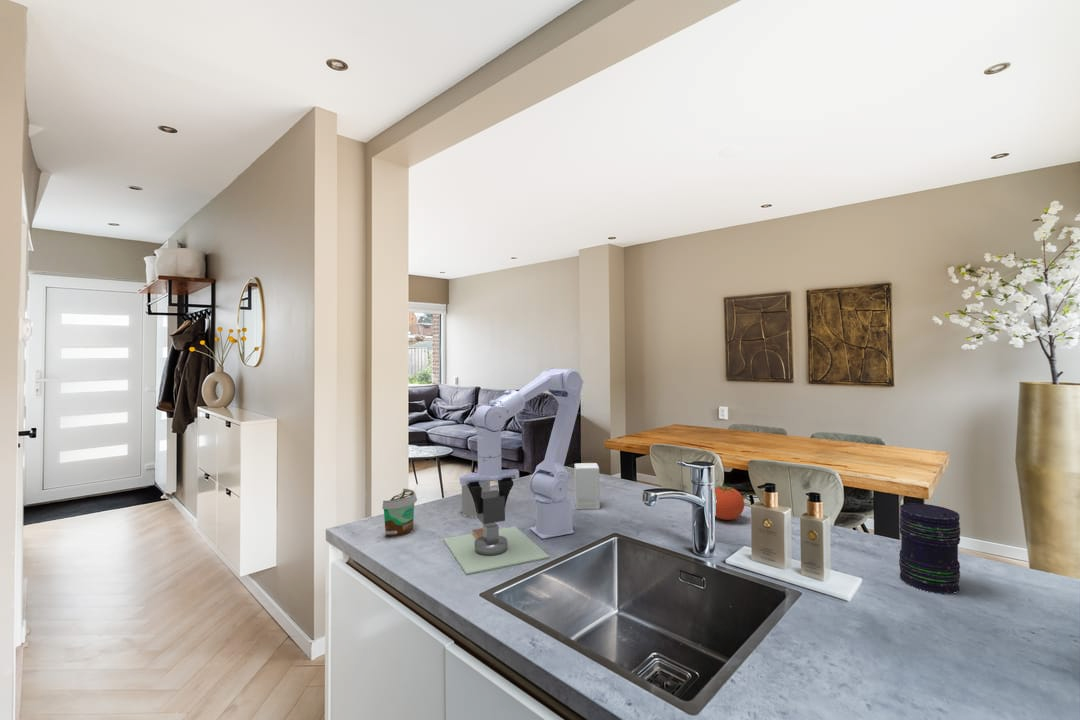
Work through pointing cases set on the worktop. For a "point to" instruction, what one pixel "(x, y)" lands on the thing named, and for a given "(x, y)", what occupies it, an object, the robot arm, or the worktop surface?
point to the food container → (399, 513)
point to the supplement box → (587, 486)
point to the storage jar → (929, 547)
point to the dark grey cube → (492, 507)
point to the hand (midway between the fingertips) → (490, 510)
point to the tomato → (728, 503)
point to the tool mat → (516, 554)
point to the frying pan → (489, 540)
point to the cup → (471, 499)
